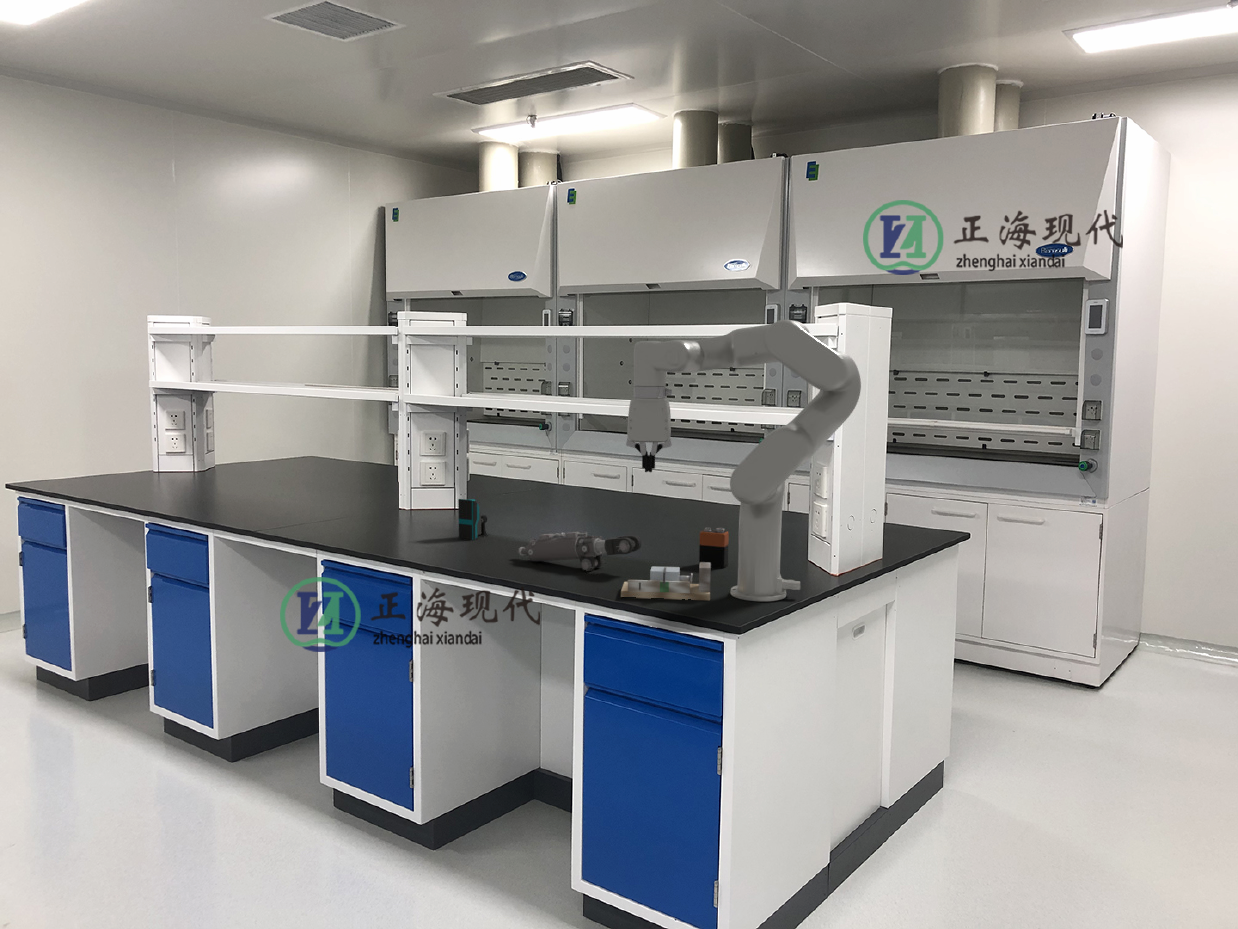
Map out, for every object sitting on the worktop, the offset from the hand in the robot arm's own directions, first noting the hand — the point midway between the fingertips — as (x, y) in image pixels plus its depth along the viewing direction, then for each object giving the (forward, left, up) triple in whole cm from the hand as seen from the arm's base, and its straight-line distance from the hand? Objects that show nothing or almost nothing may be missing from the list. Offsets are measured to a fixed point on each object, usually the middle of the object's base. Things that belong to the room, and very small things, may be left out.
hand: (648, 471), depth 221 cm
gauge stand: (-5, +10, -27) cm, 29 cm away
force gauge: (-6, +11, -25) cm, 28 cm away
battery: (-16, -22, -27) cm, 39 cm away
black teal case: (+55, -52, -27) cm, 80 cm away
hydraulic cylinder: (+20, -16, -27) cm, 37 cm away
